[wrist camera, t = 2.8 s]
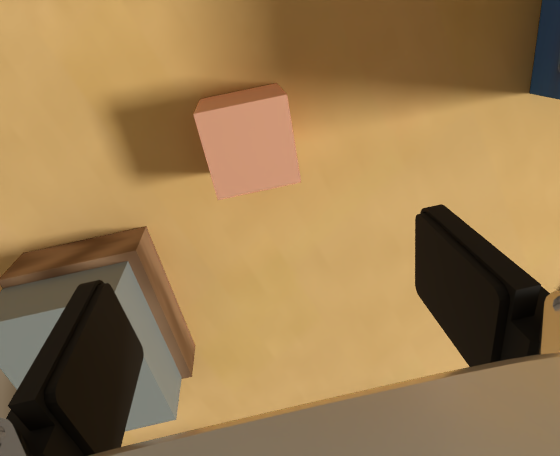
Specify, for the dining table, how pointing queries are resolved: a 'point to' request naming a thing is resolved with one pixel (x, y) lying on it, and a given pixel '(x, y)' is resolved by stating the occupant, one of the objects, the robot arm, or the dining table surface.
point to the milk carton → (547, 52)
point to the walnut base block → (107, 252)
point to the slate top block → (48, 308)
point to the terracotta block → (248, 140)
